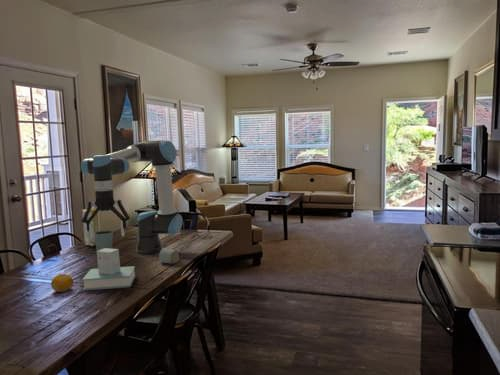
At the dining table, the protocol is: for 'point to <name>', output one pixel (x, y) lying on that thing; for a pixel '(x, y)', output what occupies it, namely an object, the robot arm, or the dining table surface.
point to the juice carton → (95, 227)
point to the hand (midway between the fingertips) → (107, 236)
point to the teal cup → (103, 239)
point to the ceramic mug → (168, 256)
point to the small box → (108, 261)
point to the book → (109, 279)
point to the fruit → (62, 282)
